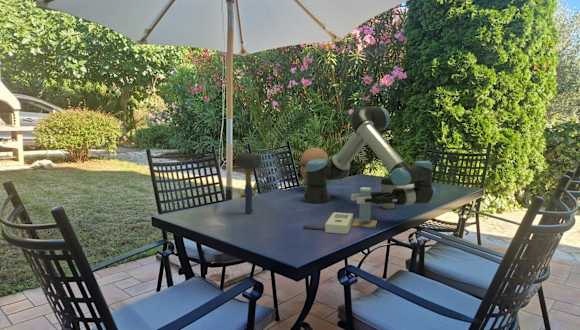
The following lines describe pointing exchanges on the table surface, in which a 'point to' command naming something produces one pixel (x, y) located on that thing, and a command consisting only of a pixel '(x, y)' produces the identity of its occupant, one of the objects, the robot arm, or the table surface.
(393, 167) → the robot arm
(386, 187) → the coffee cup
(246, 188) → the rubber mallet
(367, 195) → the pale grey tall block
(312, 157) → the mannequin head
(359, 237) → the table surface
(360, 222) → the coaster
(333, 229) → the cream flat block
